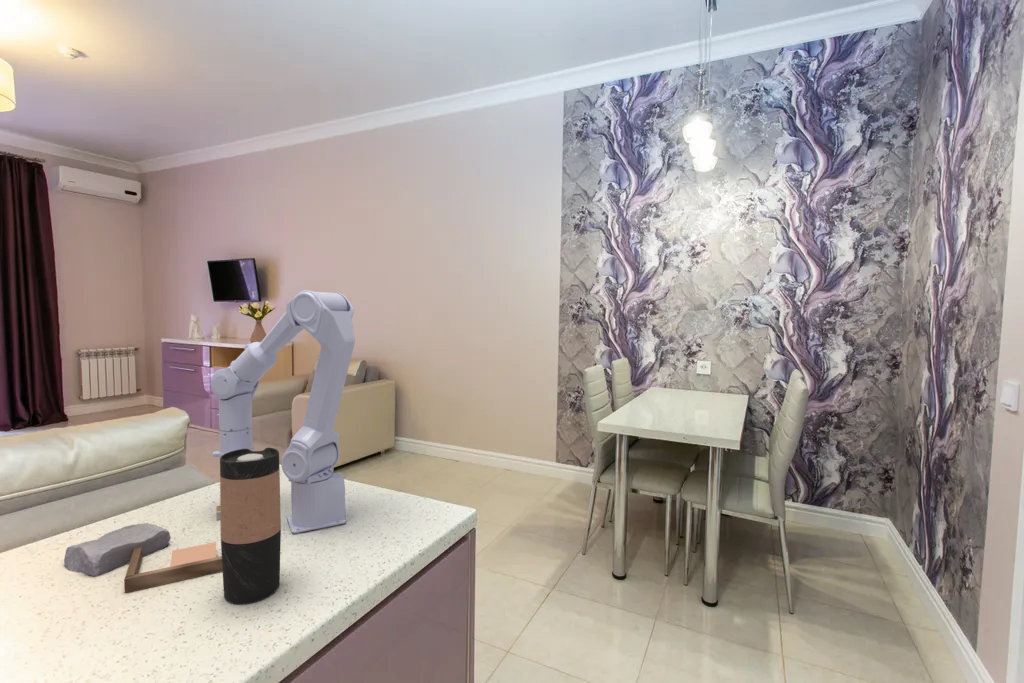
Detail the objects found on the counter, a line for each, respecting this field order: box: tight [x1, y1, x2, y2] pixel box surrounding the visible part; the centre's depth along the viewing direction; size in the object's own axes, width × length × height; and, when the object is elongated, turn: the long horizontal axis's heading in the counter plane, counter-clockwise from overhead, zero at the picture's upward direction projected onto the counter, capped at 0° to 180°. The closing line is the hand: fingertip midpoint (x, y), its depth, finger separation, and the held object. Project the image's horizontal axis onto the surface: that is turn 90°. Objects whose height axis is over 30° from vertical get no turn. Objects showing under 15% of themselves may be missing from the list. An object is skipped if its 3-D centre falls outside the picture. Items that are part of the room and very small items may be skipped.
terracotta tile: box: [169, 541, 217, 567], centre depth 79 cm, size 6×6×2 cm
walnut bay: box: [123, 547, 223, 594], centre depth 79 cm, size 16×10×2 cm, turn 121°
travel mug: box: [219, 447, 282, 605], centre depth 71 cm, size 8×8×20 cm
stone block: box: [63, 522, 171, 577], centre depth 81 cm, size 12×5×10 cm
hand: (237, 495), depth 99 cm, fingers open, 5 cm apart
